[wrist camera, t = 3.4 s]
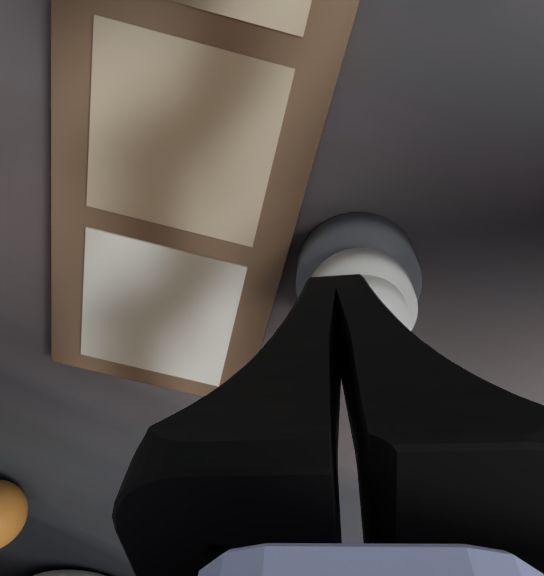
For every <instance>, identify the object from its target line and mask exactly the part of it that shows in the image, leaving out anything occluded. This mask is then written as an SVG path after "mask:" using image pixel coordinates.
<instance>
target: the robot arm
mask: <svg viewBox="0 0 544 576" xmlns="http://www.w3.org/2000/svg"><path fill="white" fill-rule="evenodd" d="M341 379H342V384H343V390H344V395H345V401H346V406H347V411H348V417H349V422H350V427H351V433H352V438H353V443H354V449H355V455H356V462H357V470H358V482H359V494H360V505H361V517H362V529H363V541H364V543H342V541H341V523H340V504H339V485H338V432H339V410H340V388H341ZM112 519H113V523H114V527H115V531H116V533H117V535H118V537H119V540H120V542H121V544H122V546H123V549H124V551H125V553H126V555H127V557H128V560H129V562H130V564H131V566H132V569H133V571H134V573H135V575H136V576H544V405H541V404H538V403H536V402H533V401H530V400H528V399H525V398H522V397H520V396H517V395H515V394H513V393H511V392H508V391H506V390H504V389H502V388H500V387H498V386H496V385H493V384H491V383H489V382H487V381H485V380H483V379H481V378H479V377H478V376H476V375H474V374H472V373H470V372H468V371H467V370H465V369H463V368H462V367H460V366H458V365H457V364H455V363H453V362H451V361H450V360H448V359H447V358H445V357H444V356H442V355H441V354H439V353H438V352H436V351H435V350H434V349H432V348H431V347H430V346H428V345H427V344H425V343H424V342H423V341H422V340H420V339H419V338H418V337H417V336H416V335H414V334H413V333H412V332H411V331H410V330H409V329H408V328H407V327H406V326H405V325H404V324H403V323H402V322H401V321H400V320H399V319H398V318H397V317H396V316H395V315H394V314H393V313H392V312H391V311H390V310H389V309H388V308H387V307H386V306H385V305H384V303H383V302H382V301H381V300H380V299H379V297H378V296H377V295H376V294H375V292H374V291H373V290H372V288H371V287H370V286H369V284H368V283H367V281H366V280H365V278H364V277H363V276H362V275H361V274H351V275H336V276H321V277H310V278H309V279H308V280H307V281H306V283H305V285H304V288H303V290H302V292H301V294H300V296H299V297H298V299H297V301H296V303H295V304H294V306H293V308H292V309H291V311H290V312H289V314H288V315H287V317H286V318H285V320H284V321H283V323H282V324H281V325H280V327H279V328H278V329H277V331H276V332H275V333H274V335H273V336H272V337H271V338H270V340H269V341H268V342H267V343H266V344H265V345H264V347H263V348H262V349H261V350H260V351H259V352H258V353H257V354H256V355H255V356H254V357H253V358H252V359H251V360H250V361H249V362H248V363H247V364H246V365H245V366H244V367H243V368H241V369H240V370H239V371H238V372H237V373H235V374H234V375H233V376H232V377H231V378H229V379H228V380H227V381H226V382H224V383H223V384H222V385H220V386H219V387H217V388H216V389H215V390H213V391H212V392H210V393H209V394H207V395H206V396H204V397H203V398H201V399H199V400H198V401H196V402H195V403H193V404H191V405H190V406H188V407H186V408H184V409H183V410H181V411H179V412H177V413H175V414H173V415H171V416H169V417H168V418H166V419H164V420H162V421H160V422H158V423H156V424H154V425H152V426H150V427H149V428H148V430H147V432H146V434H145V436H144V438H143V440H142V441H141V443H140V445H139V447H138V448H137V450H136V452H135V454H134V456H133V458H132V461H131V463H130V465H129V468H128V470H127V472H126V475H125V477H124V480H123V482H122V485H121V487H120V490H119V492H118V495H117V497H116V500H115V502H114V508H113V513H112Z"/></svg>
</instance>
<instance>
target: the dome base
mask: <svg viewBox="0 0 544 576" xmlns="http://www.w3.org/2000/svg"><path fill="white" fill-rule="evenodd" d="M359 247H365V248H373V249H378V250H381V251H384V252H386V253H388V254H390V255H391V256H393V257H395V258H396V259H397V260H398V261H399V262H400V263H401V264H402V265H403V266H404V268H405V269H406V271H407V273H408V275H409V277H410V280H411V283H412V286H413V289H414V292H415V295H416V298H417V302H418V300H419V298H420V295H421V291H422V273H421V268H420V265H419V263H418V260H417V258H416V255H415V253H414V250H413V248H412V246H411V243H410V241H409V239H408V238H407V236H406V234H405V233H404V232H403V231H402V230H401V229H400V228H399V227H398V226H397V225H396V224H395V223H393V222H391V221H390V220H388V219H386V218H384V217H382V216H379V215H376V214H371V213H365V212H352V213H345V214H341V215H338V216H335V217H332V218H330V219H328V220H326V221H324V222H323V223H321V224H320V225H319V226H317V227H316V228H315V229H314V230H313V231H312V232H311V233H310V234H309V235H308V237H307V238H306V239H305V241H304V243H303V245H302V246H301V249H300V252H299V256H298V262H297V275H296V295H297V299H298V297H299V296H300V294H301V292H302V290H303V288H304V285H305V283H306V281H307V280H308V279H309V278H310V277H312V275H313V273H314V272H315V270H316V269H317V268H318V266H319V265H320V264H321V263H322V262H323V261H324V260H326V259H327V258H328V257H330V256H332V255H333V254H335V253H338V252H340V251H343V250H346V249H350V248H359Z"/></svg>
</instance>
